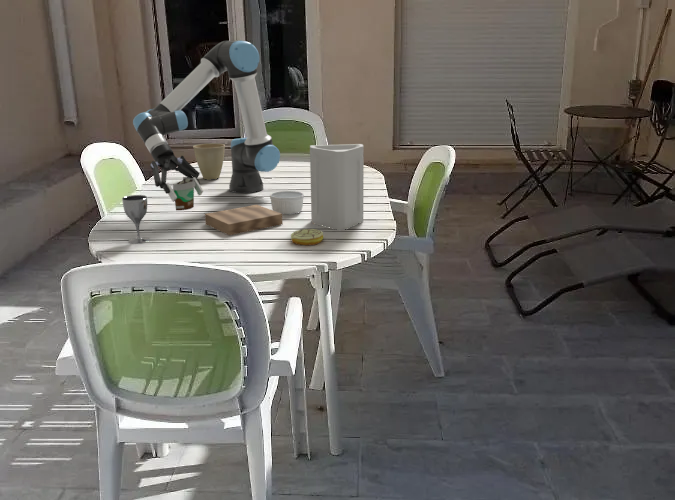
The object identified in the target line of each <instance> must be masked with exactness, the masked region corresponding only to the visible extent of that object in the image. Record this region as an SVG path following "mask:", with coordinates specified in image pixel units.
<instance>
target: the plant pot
mask: <svg viewBox="0 0 675 500" xmlns="http://www.w3.org/2000/svg"><path fill="white" fill-rule="evenodd" d="M192 147H193V152H194V156H195V160H196V163H197V166H198V169H199V171H200V172H199V173H200V175H201V176H202V178H203V180H205V179H207V181H212V180H211V179H215V180H218V179H217V178H219V179H220V177H221V172H222V169H223V164H224V159H225V150H226V149H225V148H226V145H225V144H224V143H214V142H213V143H211V142H210V143H200V144H195V145H193V146H192Z"/></svg>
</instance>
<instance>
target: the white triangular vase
mask: <svg viewBox="0 0 675 500" xmlns="http://www.w3.org/2000/svg"><path fill="white" fill-rule="evenodd" d="M364 148H365V146H364V144H363V143H355V144H353V143H352V144H351V143H349V144H348V143H347V144H346V143H345V144H313V145H311V144H310V145H309V161H310V162H309V165H310V166H309V168H310V170H309V171H310V172H309V173H310V174H309V175H310V205H311V207H310V208H311V210H310V211H311V212H310V214H311V215H310V216H311V218H310V219H311V220H312V221H311V223H312V224H313V223H315V224H314V225H316V224H318V225H317V226H320V225H323V226H326V227H325V228H327V227H330V228H329V229H331V228H333V229H332V230H334V229H337V230H336V231H346V230H348V229H350V227H351V228H353V227H354V225H355V226H357V225H359V224H361V223H363V222H364V170H365V169H364V165H365V164H364V151H365V150H364ZM362 221H363V222H362ZM360 222H361V223H360ZM358 223H359V224H358ZM356 224H357V225H356ZM323 226H322V227H323ZM352 226H353V227H352ZM347 228H348V229H347ZM345 229H346V230H345Z"/></svg>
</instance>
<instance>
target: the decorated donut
mask: <svg viewBox="0 0 675 500" xmlns="http://www.w3.org/2000/svg"><path fill="white" fill-rule="evenodd" d="M290 239H291V242H292V243H293V244H295V245H299V246H315V245H318V244H320V243H321V242H323V239H324V232H323V231H322V230H320V229H316V228H302V229H297V230H295V231H293V232H292V233H291V234H290Z"/></svg>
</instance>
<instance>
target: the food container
mask: <svg viewBox="0 0 675 500" xmlns="http://www.w3.org/2000/svg"><path fill="white" fill-rule="evenodd" d="M195 186H196V185H195V181H194V179H192V178H189V177H186V176H183V177H182V180H181V181H178V182H177V183H176V184H175V183H174V184H172V189H173V191H174V193H175V194H176V196H177V198H176V200H175V201H174V204H175V205H174V206H175V211H187V210H191V209H193V208H194V207H195V206H194V204H195V202H194V201H195V188H194V187H195Z"/></svg>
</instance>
